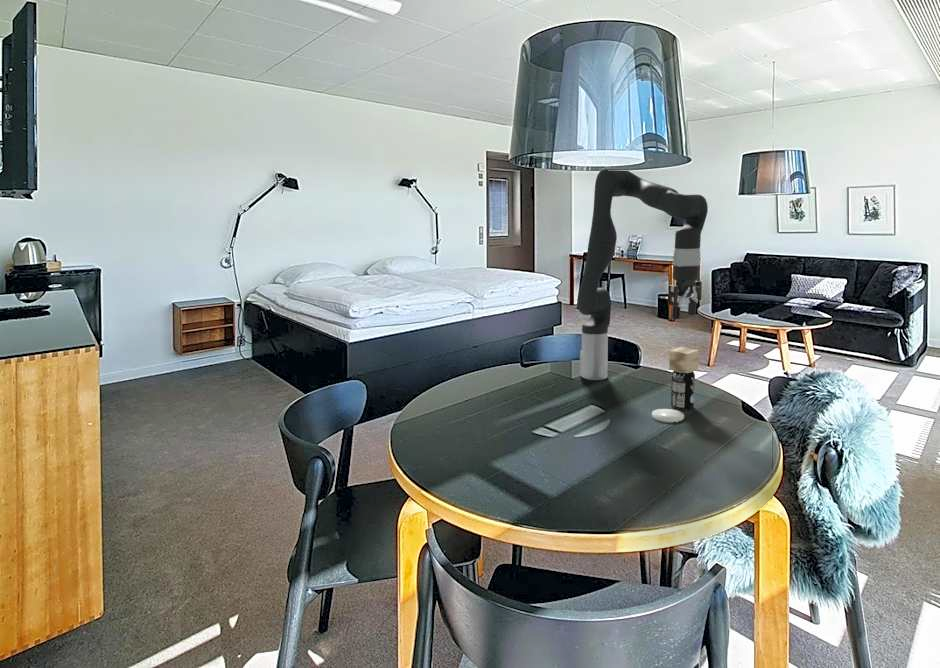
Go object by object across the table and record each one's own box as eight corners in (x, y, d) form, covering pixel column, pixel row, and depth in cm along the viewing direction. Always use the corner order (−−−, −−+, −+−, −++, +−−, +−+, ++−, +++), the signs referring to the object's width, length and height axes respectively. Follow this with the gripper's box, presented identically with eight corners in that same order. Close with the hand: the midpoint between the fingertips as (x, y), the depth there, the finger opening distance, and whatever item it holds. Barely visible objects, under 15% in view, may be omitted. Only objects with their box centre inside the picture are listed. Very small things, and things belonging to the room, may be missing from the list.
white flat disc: (645, 417, 164) (645, 414, 164) (662, 409, 170) (663, 406, 169) (672, 425, 157) (672, 421, 157) (690, 417, 163) (690, 414, 162)
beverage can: (690, 403, 174) (691, 366, 172) (696, 410, 168) (697, 372, 166) (668, 403, 175) (669, 366, 173) (674, 410, 169) (675, 372, 166)
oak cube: (669, 369, 170) (669, 350, 168) (679, 365, 173) (680, 347, 172) (687, 373, 165) (687, 353, 164) (697, 369, 169) (698, 350, 167)
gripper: (688, 261, 172) (685, 312, 175) (661, 265, 163) (659, 318, 167) (711, 262, 166) (708, 315, 169) (684, 266, 157) (681, 322, 161)
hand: (684, 317), depth 168 cm, fingers open, 8 cm apart
